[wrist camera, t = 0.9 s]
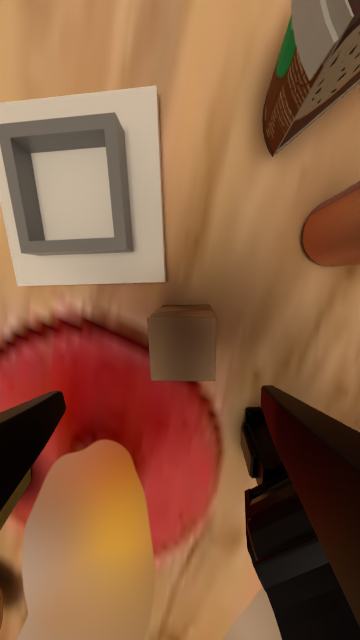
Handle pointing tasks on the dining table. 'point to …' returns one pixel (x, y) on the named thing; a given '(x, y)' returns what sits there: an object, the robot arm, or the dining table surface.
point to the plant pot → (14, 498)
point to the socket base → (83, 188)
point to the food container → (312, 67)
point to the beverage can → (335, 230)
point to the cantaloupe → (1, 607)
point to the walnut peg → (182, 343)
